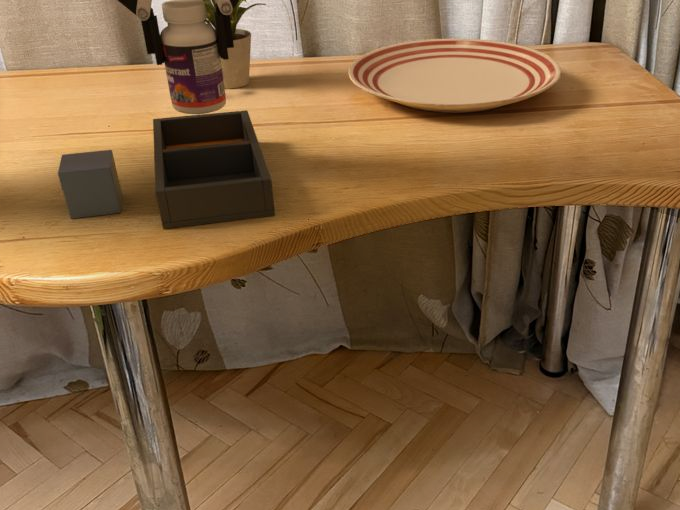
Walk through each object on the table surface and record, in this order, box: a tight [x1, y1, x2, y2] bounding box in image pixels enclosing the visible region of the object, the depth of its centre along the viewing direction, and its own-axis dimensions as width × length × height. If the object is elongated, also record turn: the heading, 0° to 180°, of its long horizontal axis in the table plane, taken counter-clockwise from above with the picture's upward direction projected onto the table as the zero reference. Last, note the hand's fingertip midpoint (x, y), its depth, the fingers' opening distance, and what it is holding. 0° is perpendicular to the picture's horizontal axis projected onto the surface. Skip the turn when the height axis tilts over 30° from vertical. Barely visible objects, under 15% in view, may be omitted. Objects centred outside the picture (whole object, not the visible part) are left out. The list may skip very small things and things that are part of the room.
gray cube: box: [57, 149, 123, 220], centre depth 69 cm, size 4×4×4 cm
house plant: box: [203, 0, 269, 90], centre depth 98 cm, size 14×14×16 cm
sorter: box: [152, 110, 276, 230], centre depth 74 cm, size 10×19×4 cm, turn 15°
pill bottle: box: [160, 0, 227, 115], centre depth 72 cm, size 5×5×10 cm
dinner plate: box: [348, 38, 562, 114], centre depth 97 cm, size 28×27×3 cm
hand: (192, 56), depth 72 cm, fingers closed on pill bottle, 5 cm apart
